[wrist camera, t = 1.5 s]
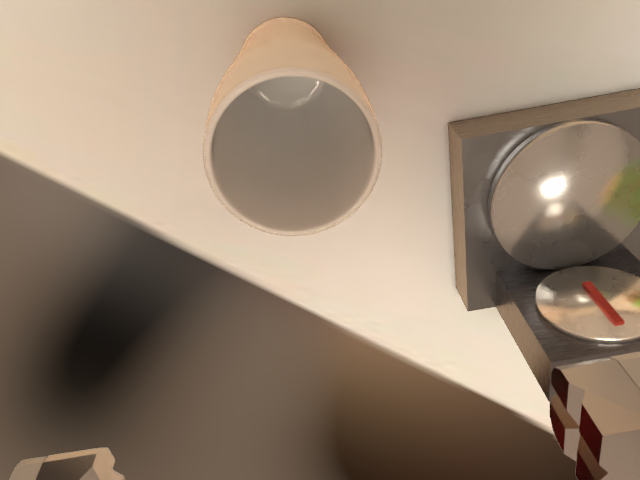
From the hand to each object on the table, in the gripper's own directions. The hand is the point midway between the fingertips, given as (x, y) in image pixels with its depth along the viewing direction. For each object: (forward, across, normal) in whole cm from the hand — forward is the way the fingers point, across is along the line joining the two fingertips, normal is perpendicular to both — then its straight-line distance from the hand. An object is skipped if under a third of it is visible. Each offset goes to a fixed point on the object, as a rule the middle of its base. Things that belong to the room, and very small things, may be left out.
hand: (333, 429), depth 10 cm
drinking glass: (+28, 0, 0) cm, 28 cm away
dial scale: (+27, -16, +12) cm, 34 cm away
